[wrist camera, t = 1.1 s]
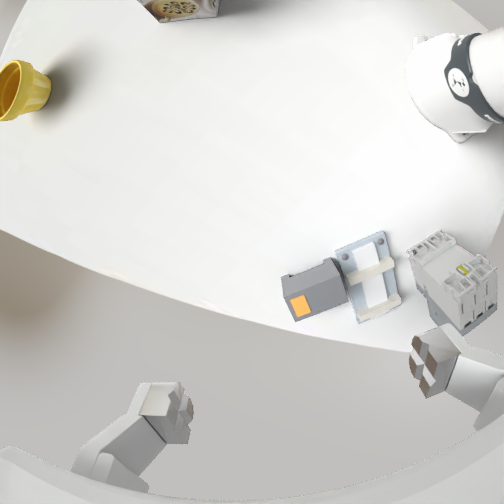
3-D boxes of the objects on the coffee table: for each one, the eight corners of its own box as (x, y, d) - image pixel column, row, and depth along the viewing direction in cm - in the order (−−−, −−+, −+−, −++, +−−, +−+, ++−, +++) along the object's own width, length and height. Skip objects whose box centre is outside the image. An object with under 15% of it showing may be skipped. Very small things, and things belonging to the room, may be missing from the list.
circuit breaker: (422, 312, 43) (461, 362, 29) (406, 250, 39) (457, 296, 25) (452, 292, 42) (495, 336, 28) (440, 229, 38) (496, 265, 24)
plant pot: (24, 79, 29) (-10, 76, 20) (60, 58, 29) (24, 48, 19) (23, 127, 33) (-13, 130, 24) (58, 109, 32) (19, 107, 23)
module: (330, 257, 40) (340, 275, 34) (338, 281, 42) (348, 301, 36) (281, 277, 42) (283, 297, 36) (291, 300, 43) (295, 322, 37)
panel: (381, 230, 38) (389, 236, 35) (397, 302, 43) (404, 311, 40) (334, 250, 40) (339, 258, 37) (356, 319, 44) (361, 330, 41)
